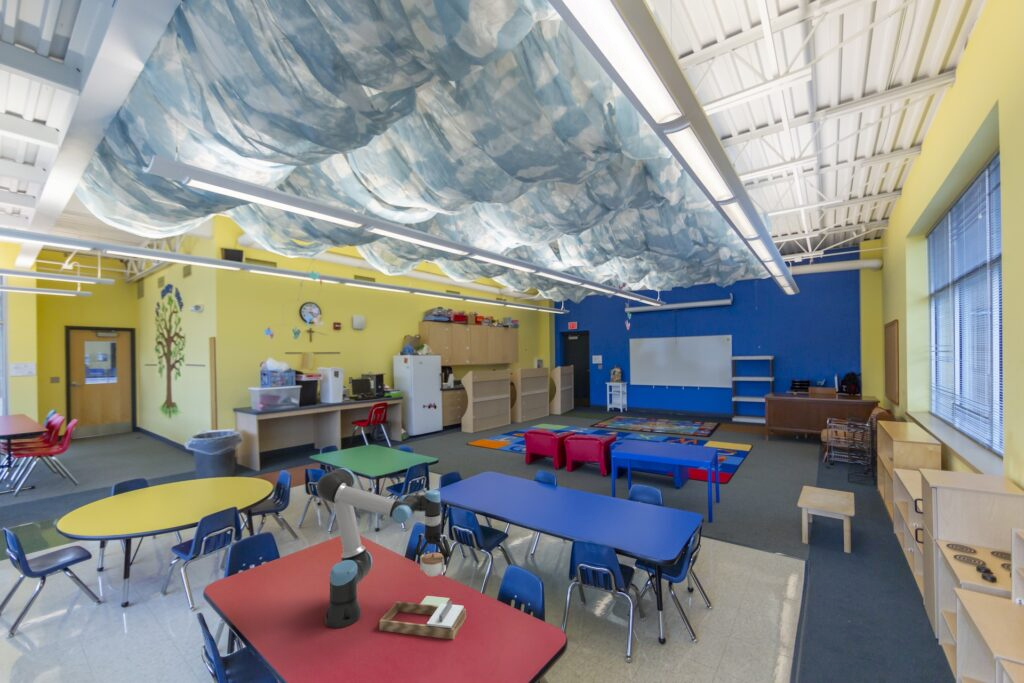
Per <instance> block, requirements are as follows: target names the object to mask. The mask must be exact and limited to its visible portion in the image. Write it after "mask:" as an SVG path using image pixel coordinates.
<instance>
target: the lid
mask: <svg viewBox="0 0 1024 683" xmlns="http://www.w3.org/2000/svg"><path fill="white" fill-rule="evenodd" d="M463 608H464V605H460V604H453V601H452V600H449V601H448V602H447V604H443V603H441V604H440V605H439V607H438V608H437V610H436V611H435V612H434V614H433V615H431V616H430V617H429V620H427V622H426V625H428V626H436V627H444V628H452V627H453V626H454V624H455V622H456V621H457V619H458V616H459V615H460V613H461V611H462V610H463ZM464 609H465V608H464Z"/></svg>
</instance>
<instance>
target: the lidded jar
mask: <svg viewBox="0 0 1024 683" xmlns="http://www.w3.org/2000/svg"><path fill="white" fill-rule="evenodd" d="M423 555H424V556H423V557H422V568H423V570H422V572H423V573H425V574H426V575H427V577H430V578H431V577H433V578H434V577H437V576H439V575H440V573H441V572H442V558H443V555H442V553H441V552H429V553H426V554H423Z"/></svg>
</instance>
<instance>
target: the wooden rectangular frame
mask: <svg viewBox="0 0 1024 683" xmlns="http://www.w3.org/2000/svg"><path fill="white" fill-rule="evenodd" d="M438 607H439V606H437V605H427V604H420V603H417V602H408V601H399V600H397V601H396V602H395V603H394V604H393V605H392V606H391V607H390V609H388V611H387V612H385V614H384V615H383V616H382V617H381V619H380V620H379V631H382V632H383V631H384V632H391V633H399V634H406V635H416V636H423V637H432V638H439V639H447V640H455V638H456V636H457V634H458V633H459V631H460V629H461V627H462V625H463V624H464V622H465V620H466V619H467V611H466V610H467V609H466V608H463V610H462V611H461V613H460V615H459V616H458V618H457V620H456V621H455V623H454V625H453V626H452V628H444V627H436V626H428V625H427V624H425V623H424V624H423V623H415V622H408V621H407V622H406V621H396V620H392V619H393V618H394V616H396V614H397V613H398V612H399V613H400V612H402V613H410V614H417V615H427V616H432V615H433V614H434V612H435V611H436V610H437V608H438Z"/></svg>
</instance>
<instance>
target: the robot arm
mask: <svg viewBox="0 0 1024 683" xmlns="http://www.w3.org/2000/svg"><path fill="white" fill-rule="evenodd" d="M355 479H356V478H355V475H354V472H353V471H351V470H350V469H348V468H346V467H340V468H336V469H334V470H332V471H330V472H329V473H326V474H324V475H322V476H321V477H320V478H319V479H318V481H317V482H316V489H315V490H316V492H317V493H316V494H317V495H318V497H320V498H321V499H322V500H323V501H325V502H329V503H332V504H333V508H334V512H335V517H336V522H337V527H338V530H339V537H340V540H341V546H342V551H343V552H342V553H341V555H340V558H341V561H340V562H337V563H335V564H334V565H333V566H332V568H331V569H330V572H329V603H328V607H327V611H326V613H325V620H324V622H325V625H326V626H328V628H333V629H338V628H344V627H348V626H350V625H352V624H354V623H356V622H358V621H359V620H360V619H361V616H362V610H361V607H360V604H359V601H358V585H359V584H360V583H361V581H362V580H363V579H364V577H366V576H367V575H368V574H369V572H370V570H371V569H372V566H373V557H372V554H371V553H370V552H369V551H368V550H367V549H366V546H364V545H363V544H362V541H361V536H360V532H359V528H358V527H359V525H358V522H357V518H356V512H355V508H358V509H362V510H364V511H368V512H371V513H375V514H378V515H382V516H385V517H389V518H392V519H393V521H394V522H395V523H396V524H404V523H406V522H407V521H409V520H410V518H411V517H412V516H413V515H414V514H415V513H416V512H417V513H418V512H424V524H425V525H424V533H423V532H421V533H420V534H419V535H418V542H417V545H416V548H415V550H414V555H417V557H418V563H419V570H420V572H423V568H422V557H423V556H424V555H425V554H423V553H424V552H425V550H426V548H427V546H428V545H435V546H436V547H437V548H438V550H439V553H441V554H442V555H443V558H442V571H441V572H442V573H443V574H444V573H445V572H446V571H447V565H448V562H449V560H448V559H449V558H450V557H452V556H451V555H452V551H451V548H450V545H449V541H448V535H447V534H441V533H442V532H441V530H442V527H441V521H442V520H441V492H440V490H437V489H430V490H426V491H425V492H424V494H423V495H422V494H404V495H402V496H401V497H400V499H399V500H397V499H394V498H393V499H392V498H391V497H386V496H383V495H380V494H377V493H373V492H368V491H365V490H361V489H359V488H355V487H353V486H354V484H355V481H356V480H355ZM354 507H355V508H354ZM424 539H425V542H424V544H423V546H422V543H423V540H424Z"/></svg>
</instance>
